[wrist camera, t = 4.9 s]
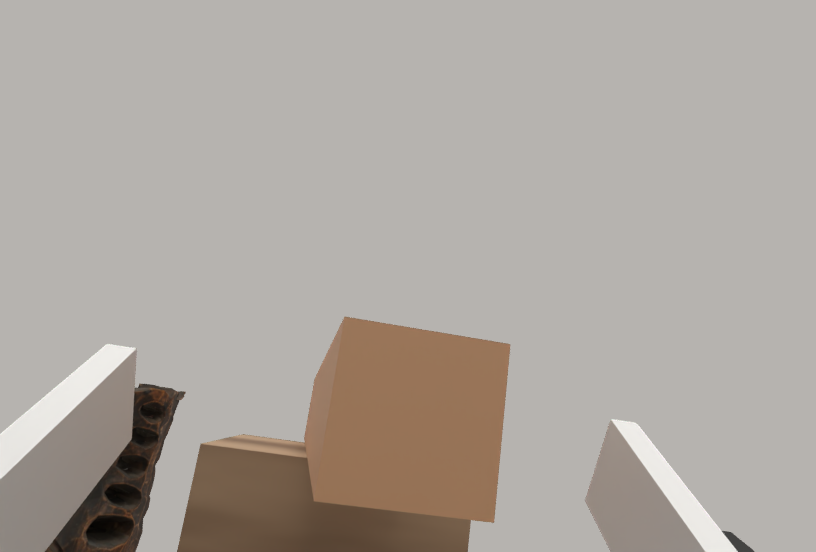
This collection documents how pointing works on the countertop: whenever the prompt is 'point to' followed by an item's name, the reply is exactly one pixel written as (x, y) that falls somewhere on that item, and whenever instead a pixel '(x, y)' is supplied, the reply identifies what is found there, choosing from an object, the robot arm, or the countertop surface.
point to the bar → (408, 421)
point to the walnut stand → (293, 508)
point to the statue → (123, 482)
